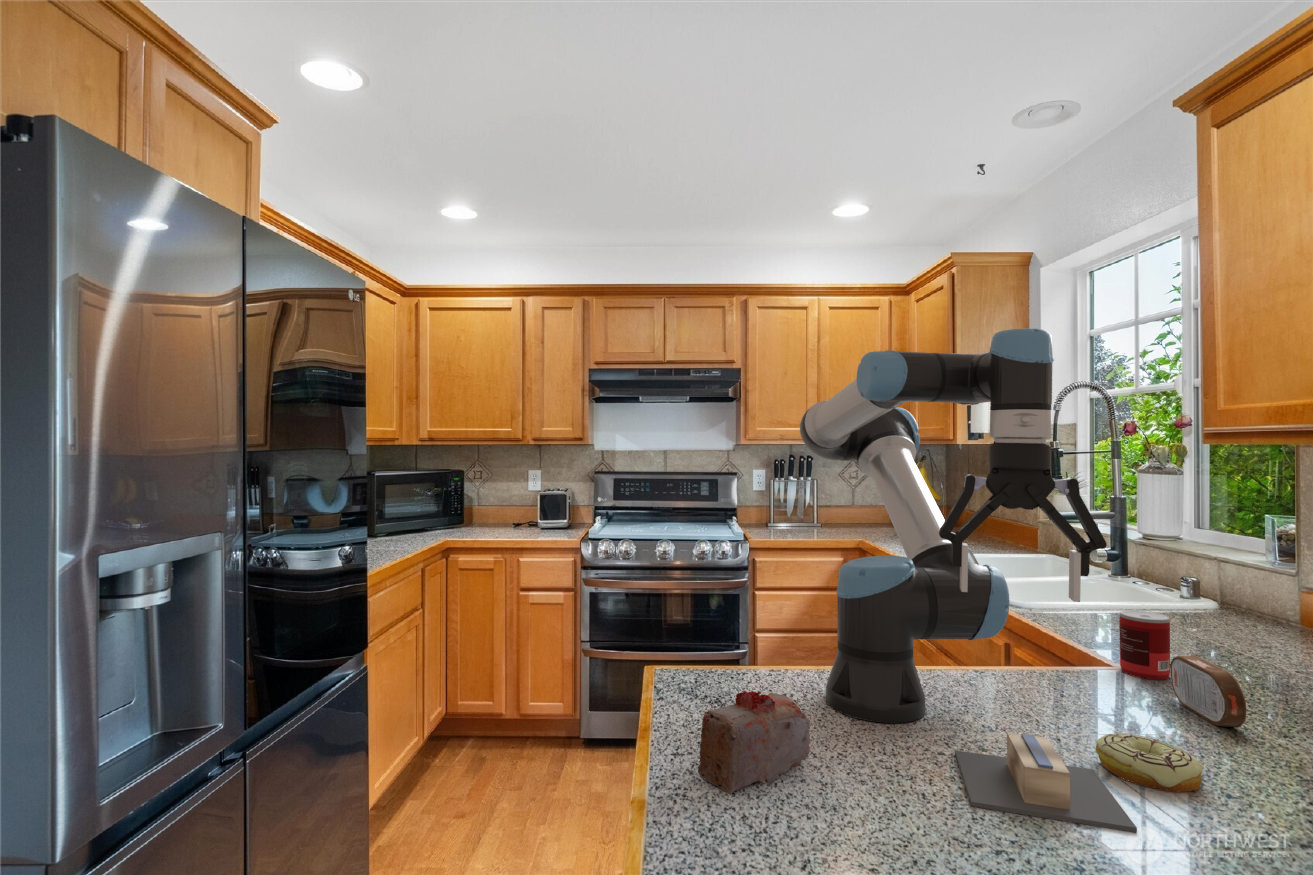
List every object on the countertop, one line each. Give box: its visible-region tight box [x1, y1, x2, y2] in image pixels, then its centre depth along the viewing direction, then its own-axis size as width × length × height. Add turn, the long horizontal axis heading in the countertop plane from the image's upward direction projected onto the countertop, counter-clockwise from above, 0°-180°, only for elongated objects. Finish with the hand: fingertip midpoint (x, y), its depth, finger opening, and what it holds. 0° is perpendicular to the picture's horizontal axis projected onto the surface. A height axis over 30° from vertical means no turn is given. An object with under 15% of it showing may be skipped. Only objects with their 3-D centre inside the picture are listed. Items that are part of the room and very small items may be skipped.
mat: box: [954, 750, 1138, 833], centre depth 79 cm, size 16×14×1 cm
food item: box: [697, 690, 811, 795], centre depth 82 cm, size 14×8×10 cm, turn 128°
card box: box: [1006, 732, 1070, 810], centre depth 78 cm, size 10×4×4 cm, turn 162°
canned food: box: [1118, 609, 1171, 681], centre depth 124 cm, size 8×8×11 cm
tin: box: [1170, 654, 1247, 728], centre depth 103 cm, size 15×3×8 cm, turn 168°
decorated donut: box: [1095, 732, 1204, 793], centre depth 83 cm, size 10×11×4 cm
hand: (1017, 595), depth 91 cm, fingers open, 13 cm apart
